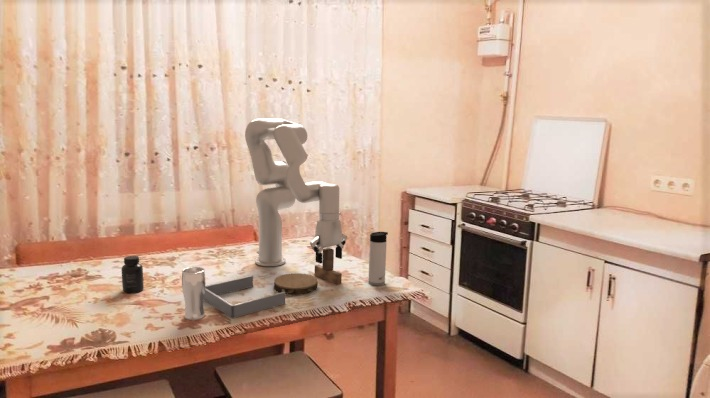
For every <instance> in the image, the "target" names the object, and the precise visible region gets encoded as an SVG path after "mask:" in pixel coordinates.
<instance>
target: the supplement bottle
mask: <svg viewBox="0 0 710 398" xmlns="http://www.w3.org/2000/svg"><path fill="white" fill-rule="evenodd" d="M121 284H122V286H121V287H122V291H123V293H125V294H135V293H139V292H142V291H143V290H144V289H145V288H144V287H145V286H144V269H143V265H142V264H141V263H140V257H139V256H138V255H128V256H125V257H124V258H123V265H122V267H121Z"/></svg>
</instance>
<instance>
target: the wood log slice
mask: <svg viewBox="0 0 710 398" xmlns="http://www.w3.org/2000/svg"><path fill="white" fill-rule="evenodd" d="M318 286H319V285H318V278H317V276H314V275H312V274H307V273H300V272H298V273H296V272H295V273H286V274H281V275H279V276H276V277H275V278H274V280H273V290H274V291H275V292H277V293H281V292H285V296H286V295H288V296H301V295H308V294H312V293H313V292H315V291H317V289H318Z"/></svg>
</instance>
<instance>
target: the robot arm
mask: <svg viewBox="0 0 710 398" xmlns="http://www.w3.org/2000/svg"><path fill="white" fill-rule="evenodd" d="M244 138H245V143H246V145H247V148H248V151H249V154H250V158H251V163H252V168H253V169H252V170H253V174H254V177H255V181H256V183H257V184H258V185H260V186H271V185H275V186H274V187H269V188H264V189H262V190H260V191H258V193H257V195H256V197H255V198H256V199H255V203H256V207H257V212H258V250H256V254H258V257H256V258H255V259H254V261H255V264H257V265H258V266H262V267H277V266H282V265H284V264H286V258H285V257H283V221H282V217H281V215H280V213H279V211H280V210H284V209H285V210H286V209H289V208H292V207H293V206H294V204H295V203H296V200H297V201H298V203H299V202H300V203H302V204H306V203H311V202H317V201H318V202H319V205H318V208H319V209H318V211H319V212H318V215H319V217H318V218H319V219H318V220H317V221H316V226H315V236H314V239H312V240H311V241H310V243H309V244H310V247H311V249H312V250H313V252H314V253H315V263H318V264H319V265H322V264H323V249H326V248H330V247H334V246H336V247H335V253H334V256H335V257H334V258H337V259H340V260H342V259H343V249H344V247H345V244H346V241H347V239H348V235H346V234H344V233H343V230H342V229H343V228H342V222H341V219H340V216H341V215H342V212H340V187H339V185H338V184H336V183H327V182H324V181H320V180H315V181H308V182H305V181H304V179H303V177H302V175H301V171H300V167H301V166H302V165H303V164H304V163H305V162H306V161H307V160H308V153H307V152H306V149H305V147H304V146H303V144H305V143H306V142H307V140H308V132H307V129H306V128H305V127H304V126H303V125H301V124H299V123H296V122H293V121H289V120H287V119H283V118H256V119H253V120H251V121H250V122H249V123H248V124H247V125H246V128H245V132H244ZM265 140H274V141H275V142H276V145H277V146H278V149H279V151H281V154H282V156H283V158H284V160H285V162H286V163H285V162H284V161H280V160H278V161H277V160H276V161H275V160H274V158H273V155H272V151H271V149H270V146H269V145H268V144H267V143H266V142H265Z"/></svg>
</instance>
